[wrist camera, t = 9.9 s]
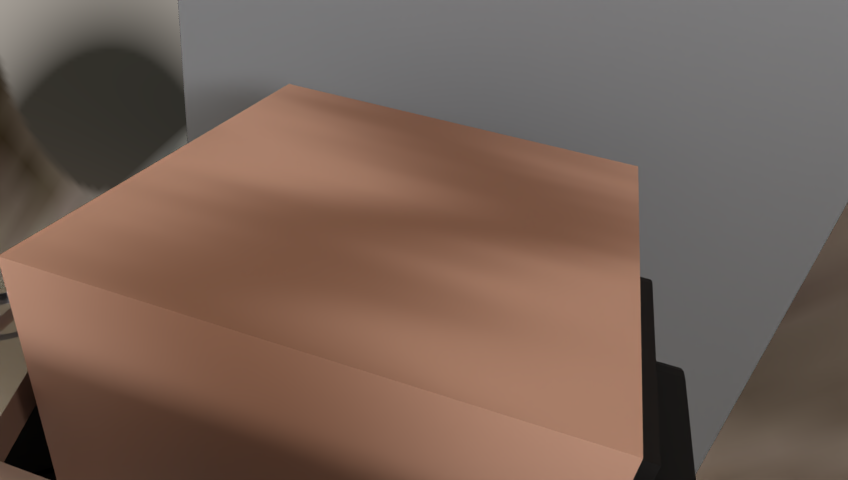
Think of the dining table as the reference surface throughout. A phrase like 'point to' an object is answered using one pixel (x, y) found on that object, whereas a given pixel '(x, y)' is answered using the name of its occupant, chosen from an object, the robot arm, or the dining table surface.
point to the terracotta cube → (341, 306)
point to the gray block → (600, 128)
